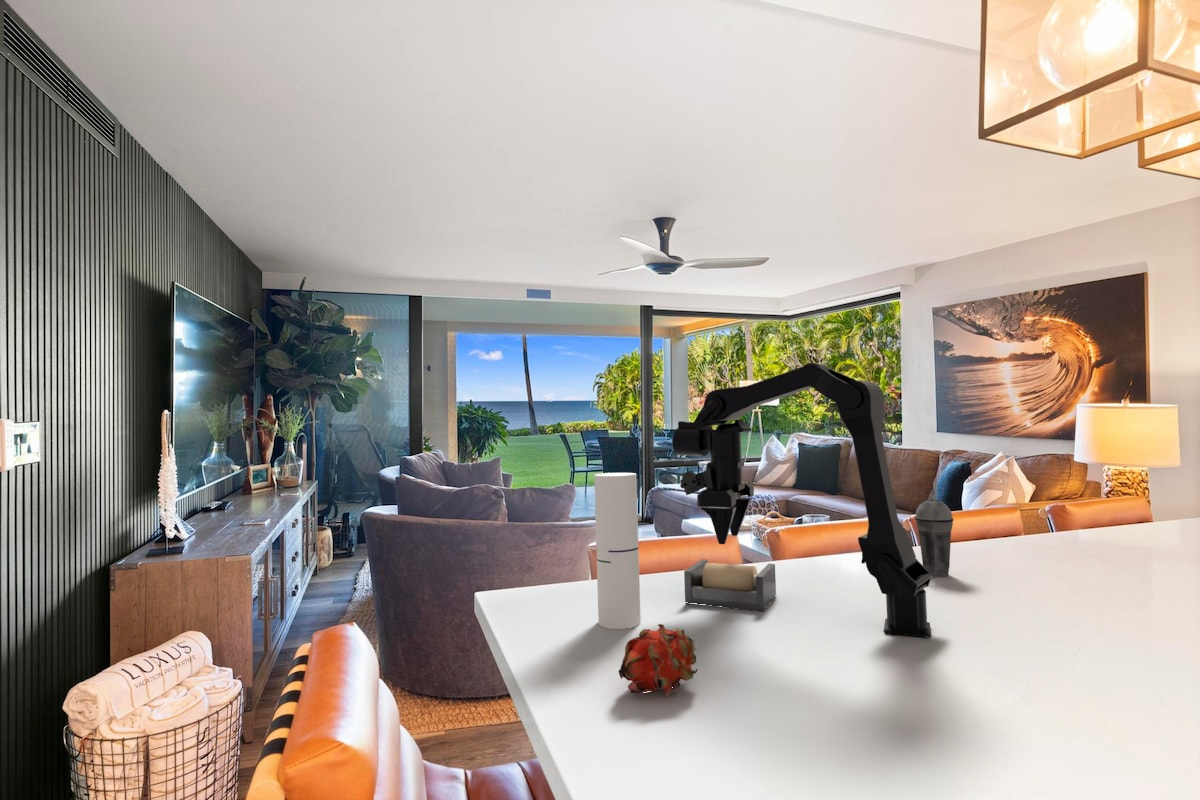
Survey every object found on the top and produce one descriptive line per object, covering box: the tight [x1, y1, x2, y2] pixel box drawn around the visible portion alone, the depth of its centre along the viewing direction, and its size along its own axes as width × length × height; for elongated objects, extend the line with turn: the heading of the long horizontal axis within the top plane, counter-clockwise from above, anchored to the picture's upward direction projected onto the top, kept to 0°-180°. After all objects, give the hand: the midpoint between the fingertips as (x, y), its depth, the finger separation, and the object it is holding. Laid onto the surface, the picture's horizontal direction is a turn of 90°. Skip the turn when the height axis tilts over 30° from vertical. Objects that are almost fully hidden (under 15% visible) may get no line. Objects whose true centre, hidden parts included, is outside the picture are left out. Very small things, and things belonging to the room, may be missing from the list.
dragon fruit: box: [618, 623, 698, 696], centre depth 84 cm, size 8×8×12 cm
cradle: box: [683, 558, 777, 612], centre depth 124 cm, size 14×11×6 cm
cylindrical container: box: [593, 472, 642, 630], centre depth 112 cm, size 7×7×25 cm
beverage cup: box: [914, 478, 954, 578], centre depth 139 cm, size 7×7×20 cm
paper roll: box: [702, 562, 758, 591], centre depth 124 cm, size 10×6×6 cm, turn 64°
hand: (728, 539), depth 125 cm, fingers open, 9 cm apart
